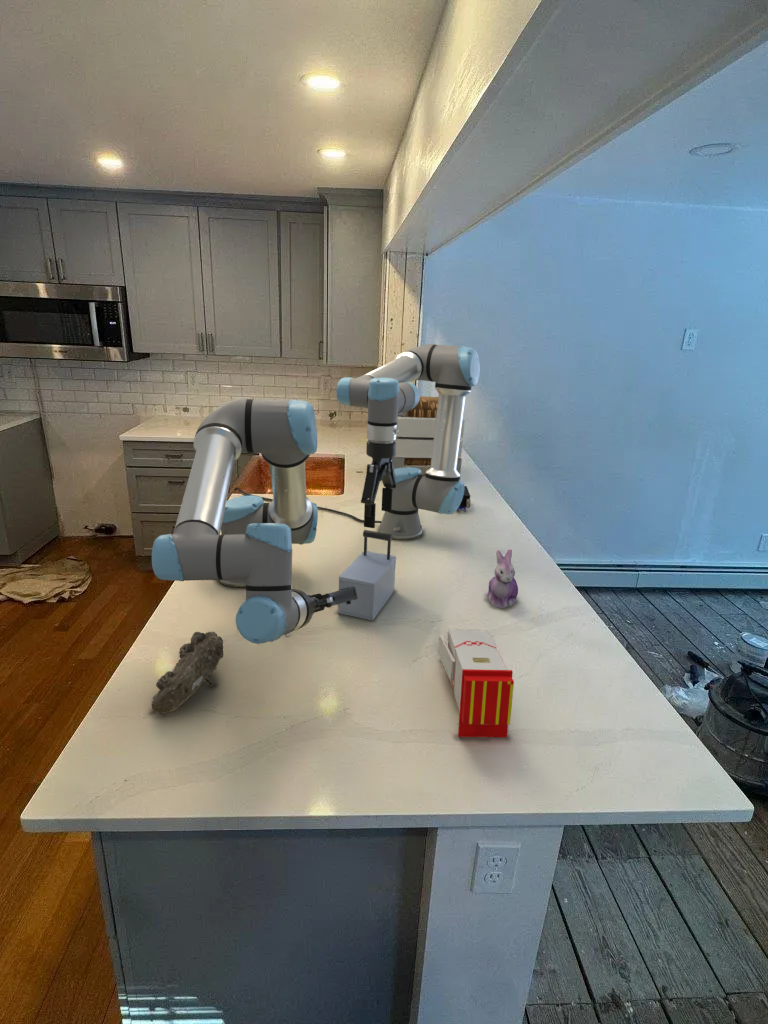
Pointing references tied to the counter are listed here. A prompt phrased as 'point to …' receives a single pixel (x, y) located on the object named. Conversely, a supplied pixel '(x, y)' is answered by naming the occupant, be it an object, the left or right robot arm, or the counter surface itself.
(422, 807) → the counter surface
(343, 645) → the counter surface
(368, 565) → the door
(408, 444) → the light grey slatted box
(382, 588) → the chest
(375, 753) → the counter surface
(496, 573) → the figurine
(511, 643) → the counter surface
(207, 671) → the fossil
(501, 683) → the toy
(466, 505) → the figurine character
